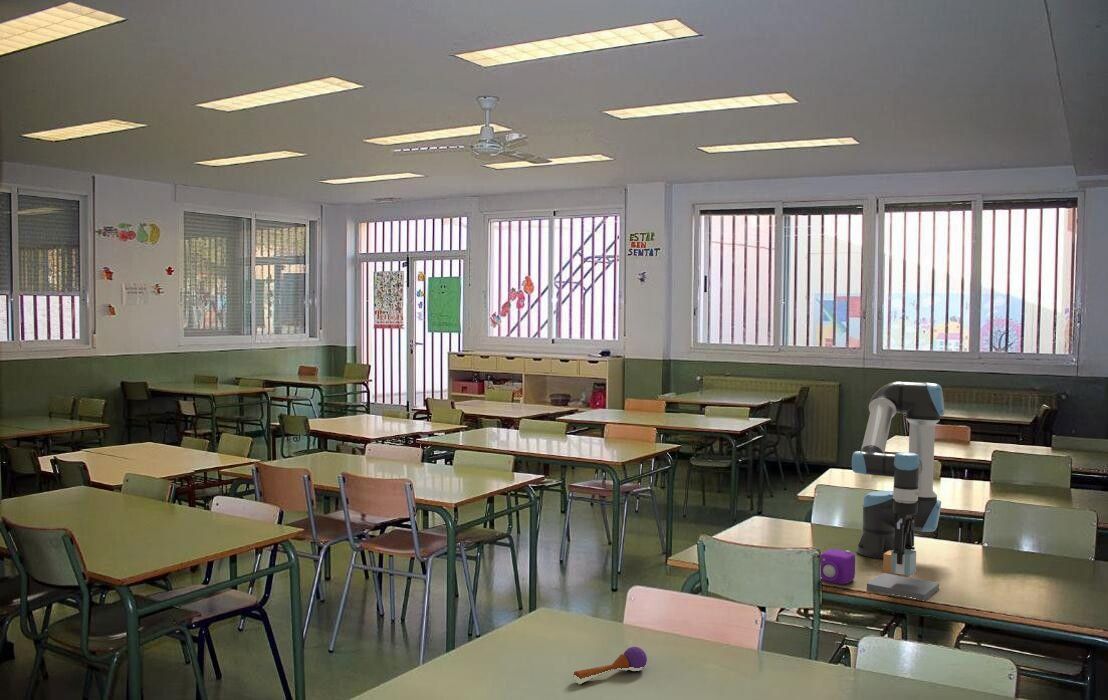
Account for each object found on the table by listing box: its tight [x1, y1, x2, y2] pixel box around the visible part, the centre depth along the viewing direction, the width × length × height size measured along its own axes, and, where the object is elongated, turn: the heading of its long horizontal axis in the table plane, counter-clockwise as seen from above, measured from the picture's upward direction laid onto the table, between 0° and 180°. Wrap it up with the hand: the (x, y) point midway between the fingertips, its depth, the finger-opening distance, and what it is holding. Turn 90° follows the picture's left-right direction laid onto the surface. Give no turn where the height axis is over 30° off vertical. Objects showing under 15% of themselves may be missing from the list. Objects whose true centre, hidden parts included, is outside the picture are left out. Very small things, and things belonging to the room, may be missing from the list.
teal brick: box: [891, 549, 917, 577], centre depth 290 cm, size 6×6×7 cm
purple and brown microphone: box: [573, 646, 648, 679], centre depth 218 cm, size 6×6×20 cm
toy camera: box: [820, 548, 856, 585], centre depth 298 cm, size 11×14×10 cm
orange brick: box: [882, 550, 902, 576], centre depth 309 cm, size 6×6×7 cm
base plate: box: [866, 572, 940, 602], centre depth 291 cm, size 18×16×2 cm
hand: (903, 571), depth 290 cm, fingers closed on teal brick, 6 cm apart
